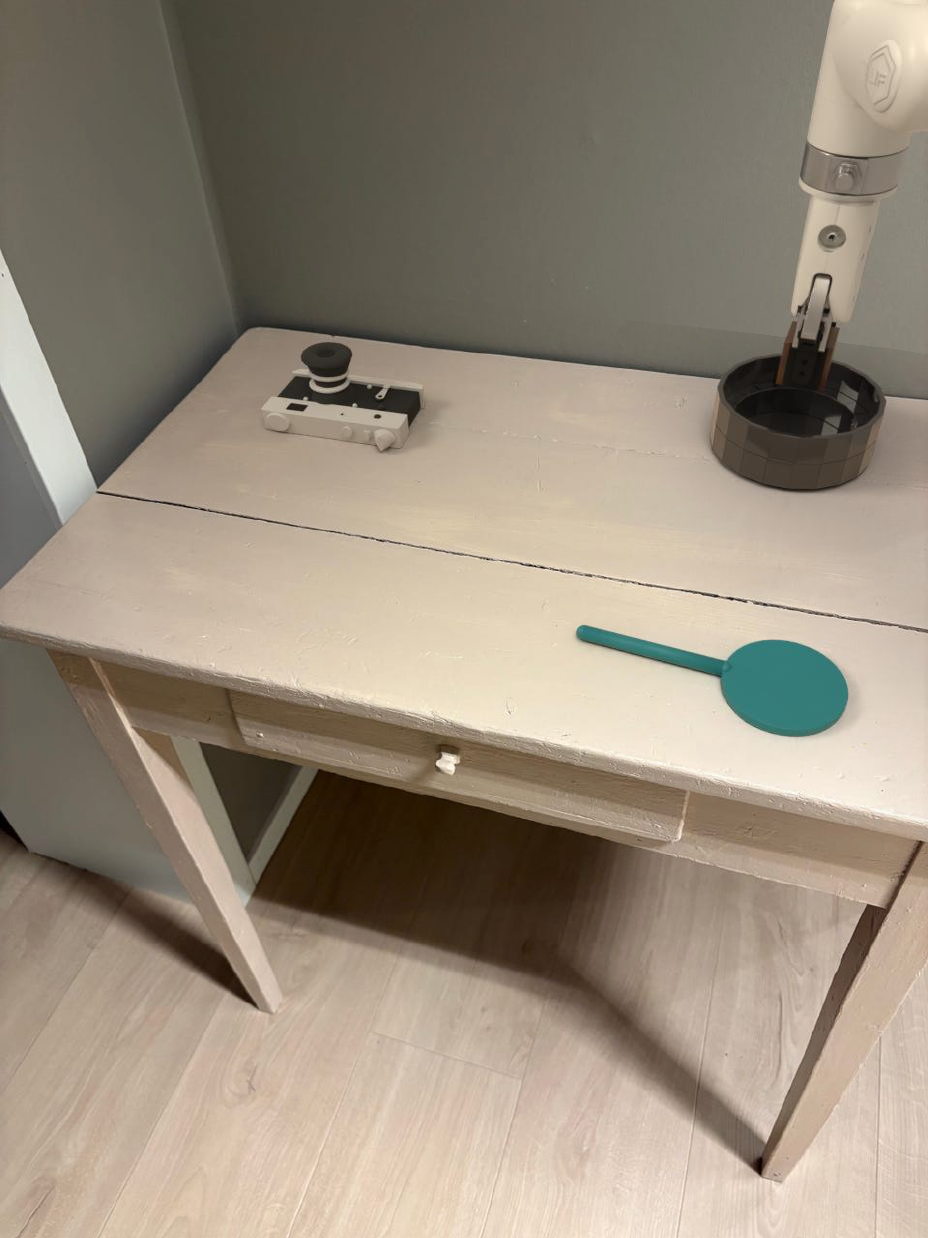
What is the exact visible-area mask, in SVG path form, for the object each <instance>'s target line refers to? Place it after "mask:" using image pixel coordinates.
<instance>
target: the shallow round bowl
mask: <svg viewBox="0 0 928 1238" xmlns="http://www.w3.org/2000/svg"><path fill="white" fill-rule="evenodd" d="M781 356H782V353H771V354H766V355H759V356H754V357H751V358H748V359H746V360H742V361H740V362H737V363H736V364H734V365H733V366H731V367H730V368H728V370H727V371H725V372H724V373H723V374H722V376H721V377H720V380H719V382H718V385H717V388H716V392H715V399H714V400H715V401H714V407H713V412H712V413H713V414H712V419H711V426H710V432H709V439H710V443H711V449H712V450H713V452H714V453H715V454H716V456H717V457H718V459H720V461H721V462H722V463H723V464H724V465H725V466H727V467H728V468H730V469H731V470H732V471H734V472H736V473H737V474H739V475H740V476H742V477H746V478H748V479H751V480H753V481H756V482H758V483H761V484H763V485H768V486H773V487H779V488H784V489H791V490H792V489H797V490H799V489H801V490H818V489H823V488H827V487H828V488H829V487H833V486H838V485H841V484H844V483H845V482H848V481H850V480H852V479H854V478H856V477H858V476H859V475H860V474H861V473H862V472H863V471H864V470H865V469H866V468H867V466H868V465H869V464H870V462H871V459H872V455H873V451H874V448H875V445H876V441H877V438H878V435H879V432H880V428H881V425H882V421H883V417H884V415H885V410H886V405H887V399H886V397H885V394H884V392H883V390H882V387H881V386H880V385H879V384H877V382H876V381H874V380H873V378H871V377H870V376H869V375H868V374H866V373H865V372H863V371H861V370H859V369H857V368H855V367H853V366H851V365H850V364H848V363H844V362H840V361H837V360H834V359H832V363H831V367H830V371H829V374H828V377H827V381H826V384H825V387H824V391H810V390H804V389H798V388H792V387H786V386H784V385H780V384H776V380H777V376H778V371H779V366H780V361H781Z"/></svg>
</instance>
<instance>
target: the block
mask: <svg viewBox="0 0 928 1238" xmlns="http://www.w3.org/2000/svg"><path fill="white" fill-rule="evenodd" d="M796 326H797V321H795V320H792V321H791V324H790V326H789V329H788V331H787V334H786V336H785V339H784V342H783V347H782V351H781V354H782V356H781V361H780V366H779V371H778V376H777V380H776V384H780V385H783V384H782V381H783V376H784V371H785V366H786V362H787V357H788V352H789V347H790V344H791V343H793V339H794V335H795V330H796ZM823 328H824V325H820V326H819V330H822V332H823ZM840 331H841V328H840V327H839V326H838V327H837V326H836V327H830V331H829V335H828V339H827V343H826V347H825V348H828V353H827V357H826V361H825V365H824V369H823V373H822V378H821V382H820V386H819V389H818V390H817V391H824V387H825V384H826V381H827V377H828V374H829V371H830V367H831V363H832V360H834V355H835V351H836V346H837V342H838V338H839V335H840Z"/></svg>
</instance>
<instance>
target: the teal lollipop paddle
mask: <svg viewBox="0 0 928 1238" xmlns="http://www.w3.org/2000/svg"><path fill="white" fill-rule="evenodd" d="M575 633H576V636H577V638H578V639H579V640H581V641H584V642H589V643H593V644H597V645H600V646H604V647H608V648H613V649H616V650H620V651H624V652H628V653H631V654H635V655H639V656H642V657H647V658H650V659H654V660H658V661H661V662H666V663H670V664H673V665H677V666H681V667H685V668H688V669H692V670H696V671H700V672H704V673H708V674H712V675H715V676H719V677H720V687H721V692H722V695H723V698H724V700H725V701H726V703H727V705H728V706H729V708H730V709H731V710H732V711H733V712H734V713H735V714H736V715H737V716H738V717H739V718H741V720H743V721H745V722H746V723H747V724H749V725H751V726H753V727H755V728H757V729H759V730H761V731H764V732H767V733H770V734H774V735H778V736H784V737H785V736H786V737H806V736H812V735H816V734H819V733H822V732H824V731H826V730H828V729H829V728H831V727H832V726H834V725H835V724H836V723H837V722H838V721H839V720H840V719H841V718H842V716H843V714H844V712H845V710H846V707H847V704H848V701H849V686H848V683H847V681H846V677H844V674H843V672H842V671H841V670H840V668H839V667H838V666H837V665H836V664H835V663H834V662H833V661H832V660H831V659H830V658H829V657H828V656H826V655H825V654H824V653H821V652H820V651H818V650H816V649H815V648H812V647H810V646H807V645H805V644H803V643H798V642H795V641H791V640H786V639H785V640H784V639H762V640H757V641H753V642H749V643H747V644H744V645H742V646H741V647H739V648H737V649H736V650H735V651H733V652H732V653H731V655H729V656H728V658H727V659H726V660H724V659H720V658H717V657H712V656H709V655H708V656H707V655H705V654H701V653H697V652H693V651H690V650H689V651H688V650H685V649H681V648H676V647H673V646H670V645H665V644H661V643H658V642H654V641H650V640H646V639H643V638H637V637H633V636H630V635H626V634H622V633H618V632H616V631H615V632H614V631H611V630H607V629H602V628H599V627H595V626H592V625H587V624H581V625H579V626H578V627H577V628H576V630H575Z"/></svg>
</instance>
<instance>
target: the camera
mask: <svg viewBox="0 0 928 1238" xmlns="http://www.w3.org/2000/svg"><path fill="white" fill-rule="evenodd" d="M352 358H353V351H352V349H351V348H350V347H349V346H347V344H344V343H340V342H333V341H323V342H318V343H314V344H312V345H310V346H308V347H306V348H304V350H302V352H301V354H300V360H301V362H302V363H303V364H304V365H305V366H306V367H307V369H306V368H299V369H296V370H293V371H292V372H291V377H292V379H291V380H290V381H289V382H288V383H287V384H286V385H285V387H284V388H283V389H282V391H281V392H280V393H278V395H277V396H273V395H272V396H271V397H269V399H268V400H267V401H266V402H265V403H264V404H263V406H261V408H260V411H261V415H262V419H263V420H262V421H263V424H264V428H265V429H266V430H269V431H274V432H275V431H276V432H283V433H288V434H296V435H302V436H309V437H316V438H325V439H329V440H336V441H337V440H338V441H343V442H344V441H345V442H350V443H351V442H352V443H359V444H365V445H372V446H377V448H378V450H379V451H380V452H382V451H384V450H386V449H387V448H393V449H401V448H402V447H403V445H404V444H405V443H406V441H407V439H408V438H409V436H410V429H409V426H410V425H411V423H412V422H413V420H414V418H415V417H416V415H418V412H419V411H420V410H424V409H425V408H426V401H425V389H424V385H423V384H422V383H419V382H410V381H403V380H402V381H401V380H393V379H388V378H387V379H386V378H377V377H370V376H364V375H363V376H362V375H356V374H355V375H354V374H350V369H349V366H350V364H351V360H352Z"/></svg>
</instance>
